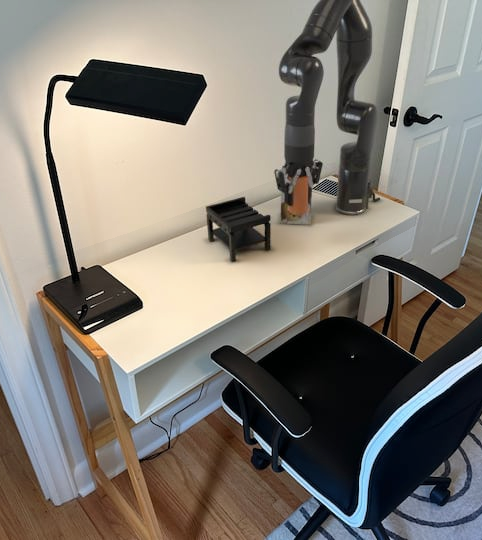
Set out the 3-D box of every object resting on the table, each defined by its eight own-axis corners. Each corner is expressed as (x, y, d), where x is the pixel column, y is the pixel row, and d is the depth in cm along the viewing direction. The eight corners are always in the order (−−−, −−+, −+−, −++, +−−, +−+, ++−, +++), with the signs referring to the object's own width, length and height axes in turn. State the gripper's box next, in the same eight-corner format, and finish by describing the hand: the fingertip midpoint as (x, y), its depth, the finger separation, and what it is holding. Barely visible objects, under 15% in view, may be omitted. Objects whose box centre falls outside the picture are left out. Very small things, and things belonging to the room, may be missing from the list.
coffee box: (311, 215, 158) (313, 166, 149) (310, 225, 152) (312, 174, 144) (281, 214, 159) (282, 164, 150) (279, 223, 153) (280, 173, 144)
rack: (245, 229, 150) (244, 196, 144) (270, 249, 140) (270, 215, 135) (207, 240, 144) (204, 206, 139) (231, 262, 135) (229, 227, 129)
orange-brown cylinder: (300, 204, 141) (301, 170, 135) (311, 211, 137) (312, 176, 132) (284, 208, 139) (284, 174, 133) (295, 216, 135) (296, 181, 129)
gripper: (283, 150, 121) (283, 214, 131) (331, 139, 128) (328, 200, 137) (267, 141, 127) (267, 203, 136) (313, 131, 133) (311, 190, 142)
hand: (298, 201), depth 137 cm, fingers closed on orange-brown cylinder, 5 cm apart
